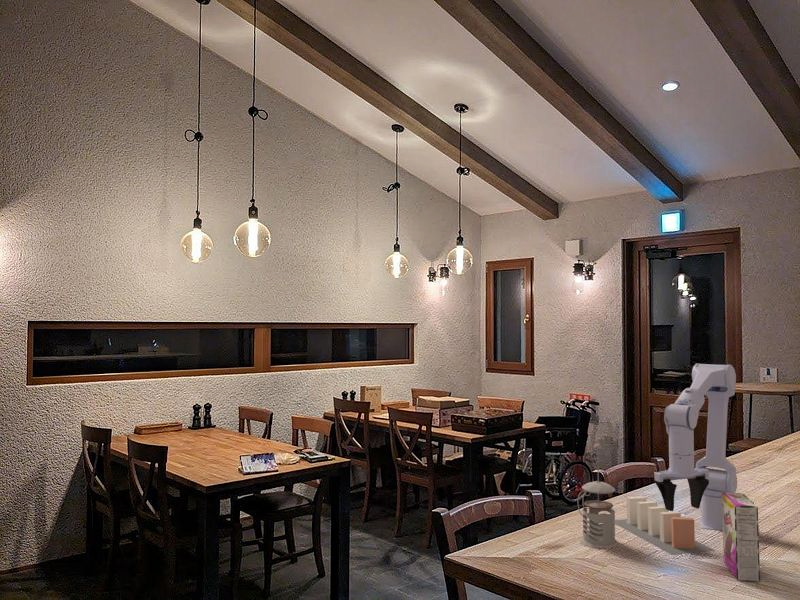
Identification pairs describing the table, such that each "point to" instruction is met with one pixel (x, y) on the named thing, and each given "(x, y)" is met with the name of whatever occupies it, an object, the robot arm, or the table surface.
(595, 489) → the french press
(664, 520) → the domino
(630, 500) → the domino
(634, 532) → the slate mat
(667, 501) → the robot arm
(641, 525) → the domino
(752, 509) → the candy bar box
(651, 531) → the domino
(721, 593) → the table surface
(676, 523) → the domino
